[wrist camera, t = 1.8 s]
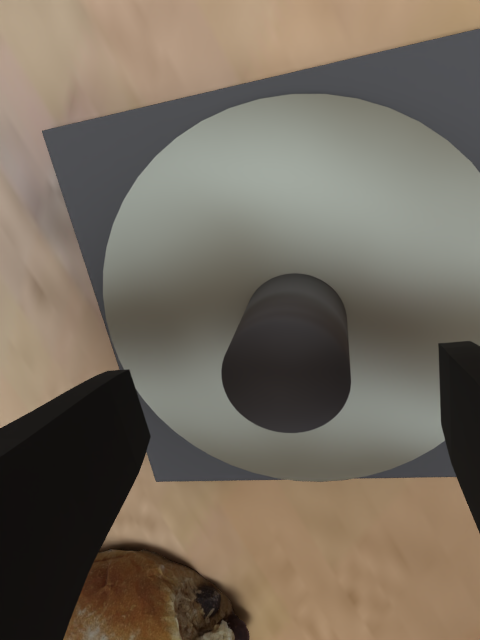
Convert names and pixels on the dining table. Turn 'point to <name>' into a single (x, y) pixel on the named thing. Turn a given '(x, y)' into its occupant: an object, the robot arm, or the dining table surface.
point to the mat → (182, 114)
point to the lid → (298, 284)
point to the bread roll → (150, 602)
